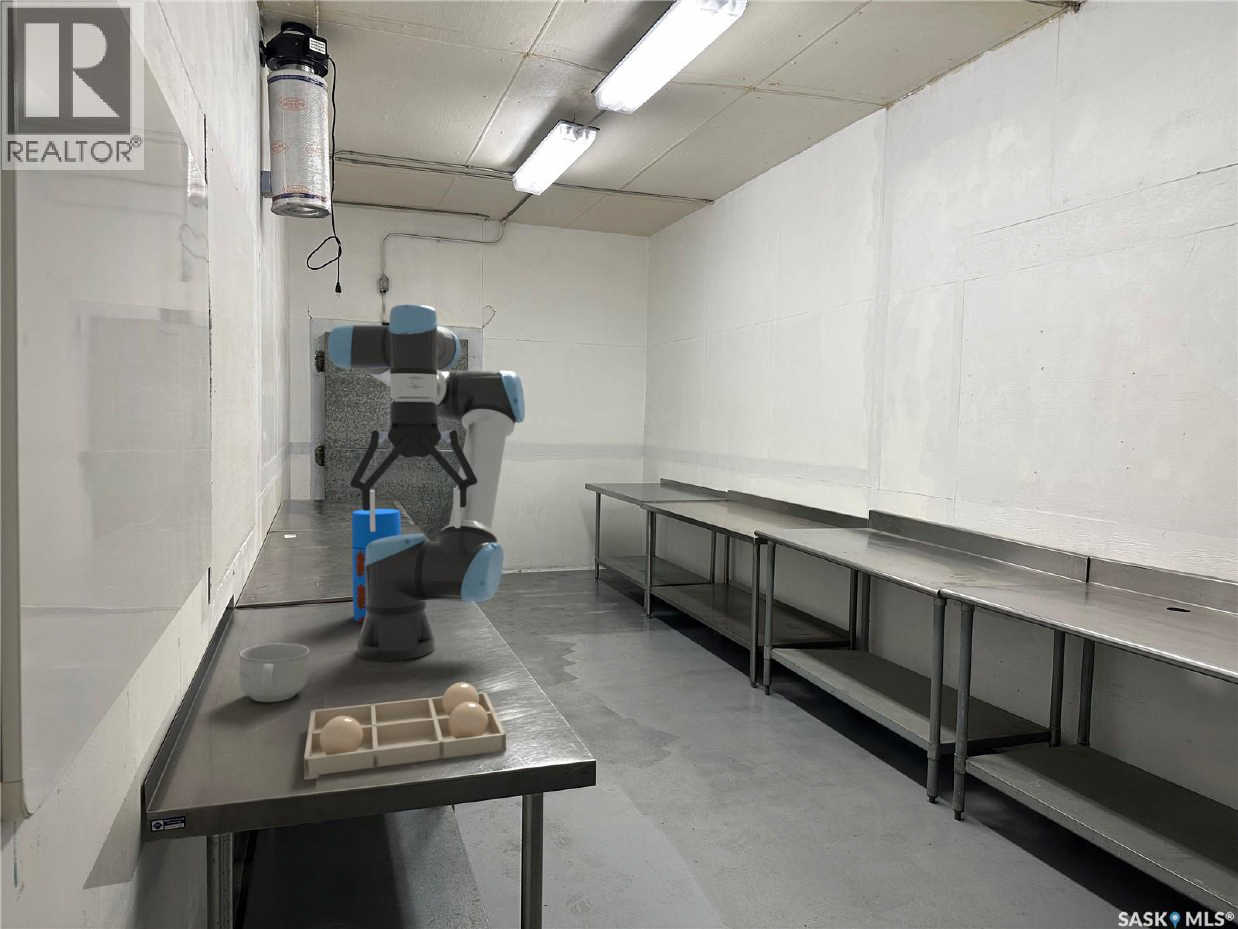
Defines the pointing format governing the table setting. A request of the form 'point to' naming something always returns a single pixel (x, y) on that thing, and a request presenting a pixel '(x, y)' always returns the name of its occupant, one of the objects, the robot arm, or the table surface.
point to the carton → (398, 735)
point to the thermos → (361, 537)
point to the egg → (341, 735)
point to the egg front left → (468, 720)
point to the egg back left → (459, 696)
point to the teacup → (273, 671)
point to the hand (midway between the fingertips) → (415, 528)
